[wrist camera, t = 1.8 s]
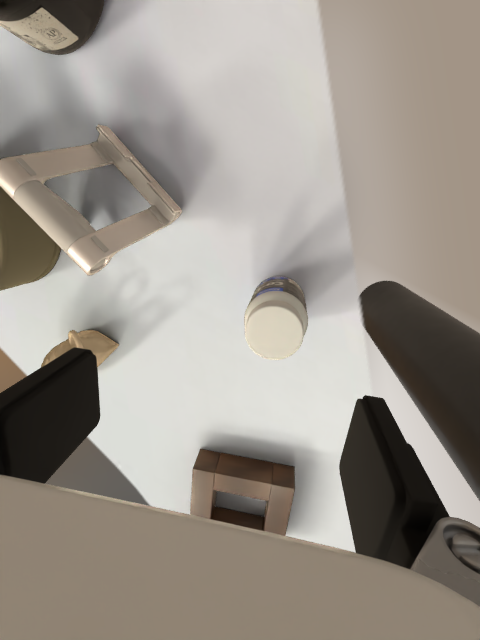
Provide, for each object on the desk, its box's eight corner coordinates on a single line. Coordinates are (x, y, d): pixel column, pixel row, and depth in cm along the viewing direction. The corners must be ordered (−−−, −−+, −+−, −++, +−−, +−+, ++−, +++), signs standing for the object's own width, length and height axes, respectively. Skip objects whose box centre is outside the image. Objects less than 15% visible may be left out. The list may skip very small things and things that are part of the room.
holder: (294, 466, 34) (295, 489, 31) (280, 534, 38) (280, 560, 35) (200, 448, 35) (192, 468, 33) (195, 516, 39) (188, 539, 36)
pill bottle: (280, 264, 27) (277, 284, 19) (315, 302, 28) (325, 337, 20) (242, 298, 29) (224, 330, 21) (275, 334, 30) (271, 377, 22)
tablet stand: (185, 210, 27) (143, 208, 19) (130, 269, 30) (73, 288, 22) (114, 129, 26) (37, 92, 18) (62, 198, 28) (-24, 191, 20)
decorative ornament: (56, 354, 34) (16, 378, 29) (100, 309, 31) (65, 327, 26) (83, 380, 35) (48, 408, 30) (129, 338, 32) (99, 361, 27)
